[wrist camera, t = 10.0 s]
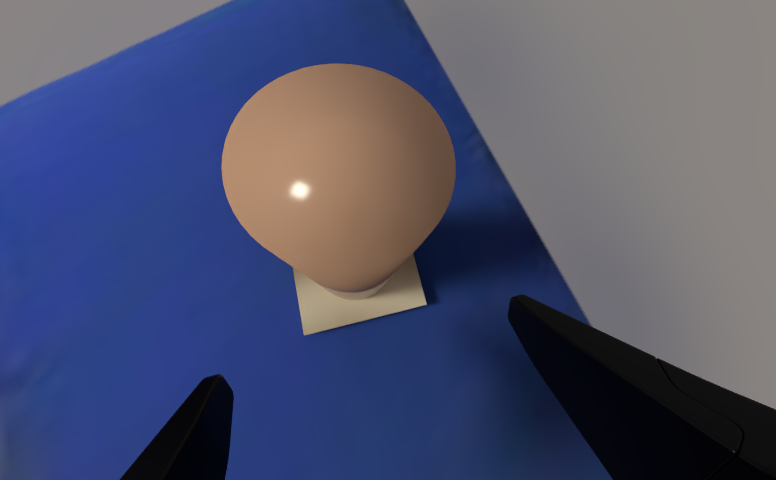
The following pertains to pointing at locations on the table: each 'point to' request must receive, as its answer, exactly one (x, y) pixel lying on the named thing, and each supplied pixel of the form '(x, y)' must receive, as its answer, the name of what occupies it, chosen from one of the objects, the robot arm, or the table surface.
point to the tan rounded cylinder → (339, 174)
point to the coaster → (333, 312)
